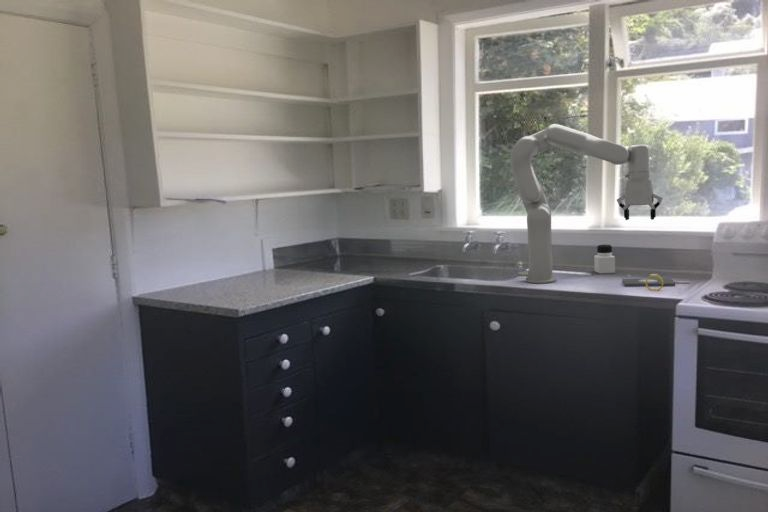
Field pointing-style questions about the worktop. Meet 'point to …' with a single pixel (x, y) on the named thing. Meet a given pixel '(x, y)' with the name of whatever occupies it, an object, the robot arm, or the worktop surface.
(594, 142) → the robot arm
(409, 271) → the worktop surface
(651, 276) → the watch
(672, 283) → the charging pad
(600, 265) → the medicine bottle
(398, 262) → the worktop surface
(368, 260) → the worktop surface
